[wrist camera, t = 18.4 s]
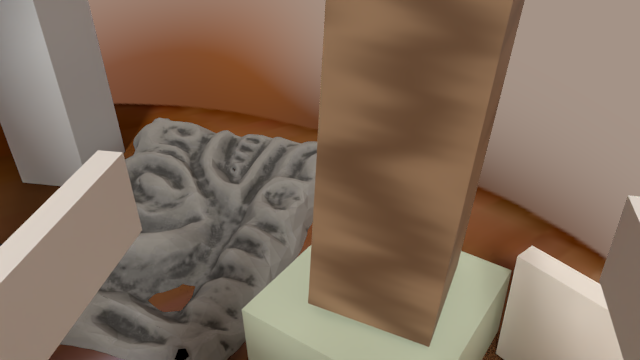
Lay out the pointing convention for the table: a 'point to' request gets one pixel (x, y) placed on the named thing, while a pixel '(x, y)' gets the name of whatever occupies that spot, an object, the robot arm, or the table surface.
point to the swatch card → (555, 314)
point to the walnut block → (402, 152)
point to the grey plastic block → (53, 89)
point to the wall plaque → (200, 240)
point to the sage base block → (366, 341)
